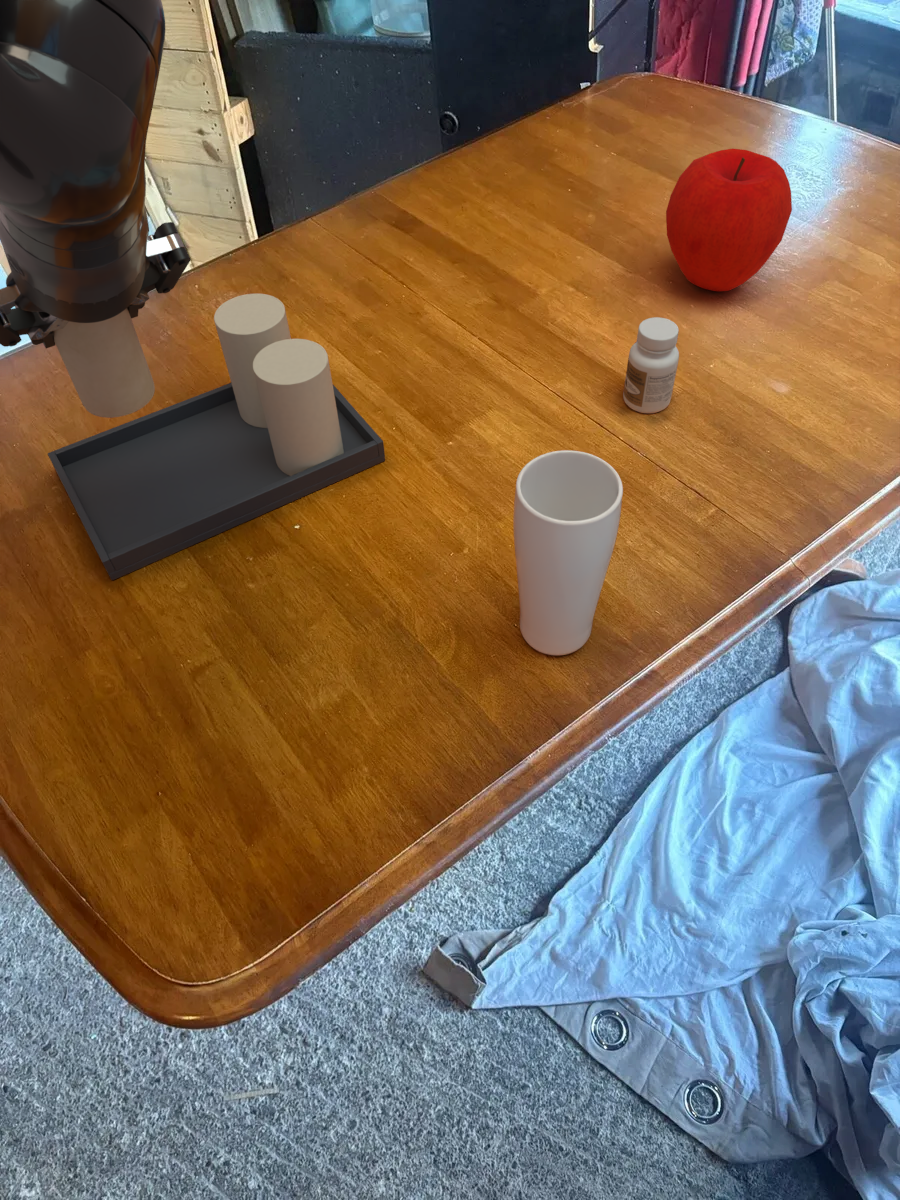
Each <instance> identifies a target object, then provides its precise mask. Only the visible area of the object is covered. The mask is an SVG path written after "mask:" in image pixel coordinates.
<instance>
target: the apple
mask: <svg viewBox="0 0 900 1200" xmlns="http://www.w3.org/2000/svg"><path fill="white" fill-rule="evenodd" d="M792 202H793V201H792V189H791V185H790V181H789V179H788V176H787V174H786V172H785V169H784V168H783V167H782V166H781V165H780V164H779V163H778V162H777V161H776V160H775V159H773V158H771V157H769V156H766V155H763V154H760V153H757V152H754V151H751V150H748V149H742V148H741V149H740V148H727V149H726V148H725V149H721V150H717V151H714V152H711V153H708V154H705V155H702V156H700V157H697V158H695V159H693V160H692V161H691V162H690V164H689V165H688V166H687V167H686V168H685V170H683V172H682V173H681V174H680V175H679V176H678V179H677V181H676V183H675V185H674V187H673V190H672V192H671V194H670V196H669V200H668V204H667V207H666V210H665V211H666V212H665V218H666V219H665V223H666V225H665V226H666V237H667V240H668V244H669V247H670V250H671V253H672V254H673V256H674V259H675V261H676V263H677V265H678V267H679V270H680V271H681V273H682V274H683V275H684V277H685V278H686V280H687V281H689V282H690V283H691V284H693V285H695V286H697V287H699V288H701V289H704V290H709V291H711V292H712V291H713V292H729V291H731V290H733V289H735V288H738V287H740V286H742V285H743V284H745V282H747V281H749V280H750V279H751V278H752V277H753V276H755V275H756V274H757V273H758V272H759V271H760V270H761V269H762V268H763V267H764V265H765V264H766V263H767V262H768V260H769V259H770V258H771V256H772V255H773V253H774V252H775V250H776V249H777V248H778V246H779V245H780V244H781V242H782V241H783V237H784V235H785V232H786V229H787V226H788V223H789V220H790V217H791V214H792V212H793V204H792Z"/></svg>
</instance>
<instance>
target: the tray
mask: <svg viewBox="0 0 900 1200" xmlns="http://www.w3.org/2000/svg"><path fill="white" fill-rule="evenodd" d="M333 390H334V396H335V402H336V408H337V414H338V420H339V426H340V432H341V438H342V444H343V450H344V453H343V454H341V455H338V456H336V457H334V458H332V459H329V460H327V461H325V462H322V463H320V464H318V465H315V466H313V467H311V468H308V469H306V470H304V471H301V472H299V473H297V474H294V475H292V476H289V475H287V474H285V473H284V472H283V471H281V470H280V468H279V467H278V465H277V463H276V459H275V455H274V451H273V447H272V443H271V439H270V435H269V431H268V428H259V427H255V426H252V425H250V424H248V423H246V422H245V421H244V420H243V419H242V417H241V416H240V413H239V409H238V405H237V402H236V398H235V394H234V391H233V387H232V383H231V382H229V383H227V384H224V385H221V386H218V387H216V388H213V389H211V390H208V391H206V392H202V393H201V394H198V395H195V396H193V397H190V398H188V399H187V398H186V399H185V400H182V401H180V402H177V403H175V404H172V405H169V406H167V407H163V408H162V409H158V410H156V411H154V412H150V413H148V414H145V415H144V416H141V417H137V418H135V419H132V420H130V421H127V422H125V423H122V424H120V425H117V426H115V427H112V428H109V429H107V430H104V431H102V432H99V433H97V434H93V435H92V436H88V437H86V438H84V439H81V440H78V441H76V442H73V443H70V444H67V445H65V446H62V447H61V448H58V449H55V450H52V451H49V452H47V456H48V458H49V460H50V462H51V464H52V466H53V468H54V470H55V472H56V474H57V476H58V478H59V480H60V482H61V483H62V485H63V487H64V490H65V491H66V493H67V496H68V497H69V499H70V502H71V503H72V505H73V507H74V510H75V511H76V513H77V516H78V517H79V519H80V521H81V523H82V525H83V527H84V530H85V531H86V533H87V535H88V538H89V539H90V542H91V543H92V545H93V547H94V548H95V551H96V553H97V555H98V557H99V559H100V561H101V563H102V565H103V566H104V568H105V571H106V573H107V575H108V576H109V578H110V580H111V581H114V580H117V579H119V578H122V577H124V576H126V575H128V574H131V573H133V572H135V571H137V570H140V569H142V568H144V567H147V566H149V565H151V564H153V563H156V562H158V561H160V560H163V559H164V558H167V557H170V556H171V555H174V554H176V553H179V552H180V551H183V550H185V549H187V548H191V547H193V546H194V545H196V544H199V543H201V542H203V541H206V540H207V539H210V538H212V537H215V536H217V535H219V534H221V533H224V532H226V531H229V530H231V529H233V528H235V527H238V526H240V525H242V524H245V523H247V522H249V521H251V520H254V519H255V518H258V517H260V516H262V515H265V514H267V513H269V512H271V511H274V510H276V509H278V508H281V507H283V506H285V505H288V504H289V503H292V502H294V501H296V500H299V499H302V498H303V497H306V496H308V495H311V494H312V493H315V492H317V491H319V490H322V489H324V488H326V487H329V486H331V485H334V484H336V483H337V482H340V481H342V480H344V479H347V478H349V477H351V476H354V475H356V474H358V473H360V472H363V471H365V470H367V469H370V468H372V467H374V466H377V465H379V464H381V463H384V462H385V461H386V455H385V454H386V453H385V452H386V451H385V445H384V440H383V439H382V438H381V437H380V436H379V435H378V433H376V431H375V430H374V429H373V428H372V427H371V426H370V424H369V423H368V422H367V421H366V420H365V418H363V416H362V415H361V414H360V413H359V412H358V411H357V409H356V408H355V407H353V405H352V404H351V403H350V402H349V401H348V399H347V398H346V397H345V396H344V394H342V393H341V392H340V391H339V389H338V388H337V387H336V386H335V384H333Z"/></svg>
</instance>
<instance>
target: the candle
mask: <svg viewBox="0 0 900 1200" xmlns="http://www.w3.org/2000/svg"><path fill="white" fill-rule="evenodd" d="M52 334H53V338H54V342H55V346H56V349H57V351H58V353H59V355H60V357H61V360H62V362H63V364H64V366H65V369H66V371H67V373H68V375H69V378H70V380H71V382H72V384H73V386H74V389H75V391H76V393H77V395H78V398H79V400H80V403H81V404H82V406H83V407H84V409H85V410H86V411H87V412H88V413H89V414H91V415H93V416H96V417H99V418H106V419H107V418H108V419H109V418H110V419H113V418H119V417H124V416H127V415H128V416H129V415H131V414H133V413H136V412H138V411H140V410H141V409H143V408H144V407H145V406H147V405H148V404H149V403H150V402H151V401H152V399H153V397H154V396H155V390H156V386H155V382H154V378H153V376H152V372H151V369H150V367H149V364H148V360H147V359H146V355H145V353H144V351H143V347H142V344H141V342H140V339H139V336H138V334H137V330H136V328H135V326H134V323H133V319H131V317H130V314H129V311H128V308H126V309H125V310H124V311H123V312H121V313H120V314H118V315H116V316H114V317H112V318H110V319H107V320H104V321H100V322H94V323H76V322H70V321H69V322H68V323H67V324H66V326H65V327H64V328H63V329H59V330H55V331H52Z"/></svg>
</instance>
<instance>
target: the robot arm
mask: <svg viewBox="0 0 900 1200" xmlns="http://www.w3.org/2000/svg"><path fill="white" fill-rule="evenodd" d="M165 16H166V15H165V9H164V5H163V1H162V0H0V242H1V245H2V248H3V252H4V255H5V257H6V260H7V264H8V266H9V269H10V273H9V274H8V275H7V276H6V279H5V285H6V286H5V287H3V288H0V345H1V346H2V347H4V348H5V347H7V348H8V347H16V346H17V345H18V344H19V343H20V342H22V338H21V336H24V335H27V336H28V338H29V340H30V341H31V344H32V345H34V346H38V345H42V344H43V346H44V348H45V349H50V348H52V347H55V346H56V344H55V342H54V338H53V334H52V331H55V330H59V329H63V328H64V327H65V326H66V324H67V323H68V322H69V321H70V322H76V323H94V322H100V321H104V320H107V319H110V318H112V317H114V316H116V315H118V314H120V313H121V312H123V311H124V310H125V309H126V308H128V311H129V314H130V317H131V320H133V319H135V318H138V317H139V310H142V309H143V308H144V307H145V306H146V302H147V301H149V300H150V296H149V294H148V293H150V292H152V291H154V290H156V292H157V294H167V293H169V292H171V290H173V289H174V288H175V287H176V285H177V283H178V281H179V280H180V278H181V277H182V275H183V273H184V272H185V270H186V268H187V267H188V265H189V264H190V263H191V261H192V260H191V257H190V255H189V253H188V250H187V248H186V246H185V244H184V241H183V240H182V237H181V236H180V233H179V231H178V229H177V227H176V225H175V223H174V222H173V221H169V222H163V223H161V224H160V225H159V226H157V228H156V229H155V231H154V233H153V234H149V233H150V226H149V221H148V213H147V209H146V195H147V194H146V193H147V178H146V175H147V174H146V149H147V148H146V147H147V137H148V131H149V126H150V121H151V117H152V112H153V106H154V102H155V98H156V97H155V96H156V91H157V86H158V82H159V75H160V71H161V70H160V69H161V63H162V57H163V54H164V47H165V42H166V41H165V39H166V17H165Z"/></svg>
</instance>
